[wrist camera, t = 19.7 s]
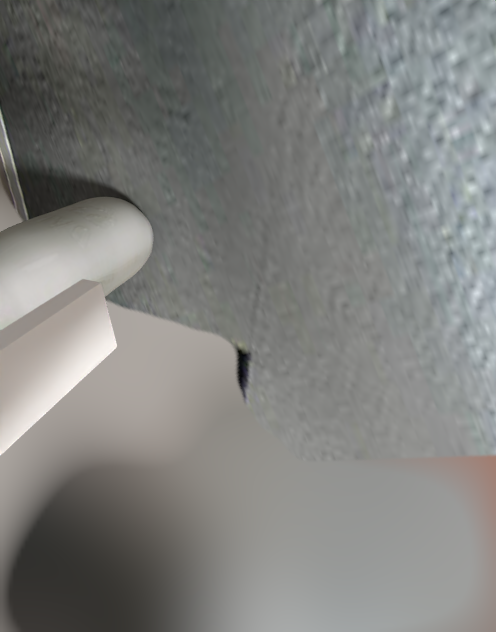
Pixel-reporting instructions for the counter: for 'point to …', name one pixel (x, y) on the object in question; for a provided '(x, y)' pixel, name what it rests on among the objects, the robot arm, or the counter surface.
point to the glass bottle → (70, 252)
